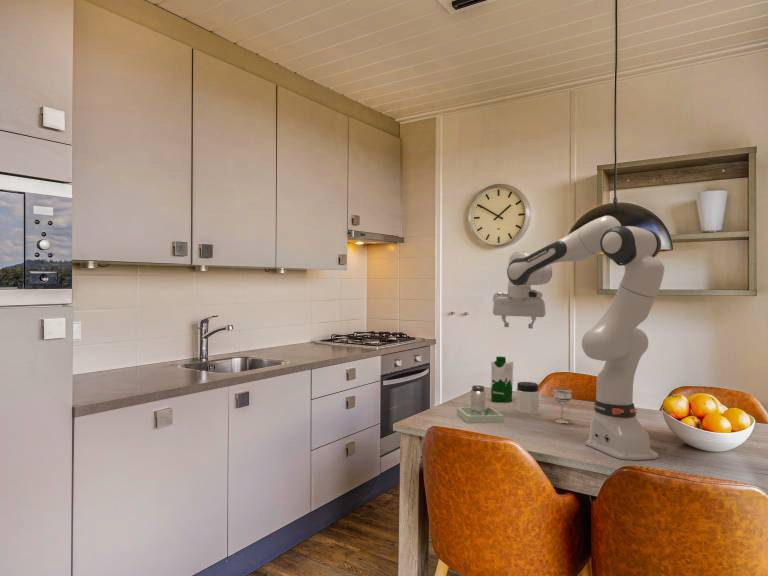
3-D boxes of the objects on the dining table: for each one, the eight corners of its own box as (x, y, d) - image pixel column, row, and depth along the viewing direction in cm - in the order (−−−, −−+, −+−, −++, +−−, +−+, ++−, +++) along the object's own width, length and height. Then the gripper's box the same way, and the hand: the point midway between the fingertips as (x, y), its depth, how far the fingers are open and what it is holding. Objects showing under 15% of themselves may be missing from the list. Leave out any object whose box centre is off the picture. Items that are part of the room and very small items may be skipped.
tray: (503, 424, 194) (503, 415, 194) (467, 425, 192) (467, 416, 192) (490, 414, 208) (491, 406, 208) (456, 415, 206) (456, 407, 206)
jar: (527, 416, 206) (528, 386, 206) (511, 412, 213) (512, 383, 213) (542, 413, 211) (543, 384, 211) (526, 409, 218) (527, 381, 218)
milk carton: (488, 401, 231) (489, 356, 231) (495, 398, 239) (496, 354, 238) (507, 404, 226) (508, 358, 226) (514, 400, 234) (515, 356, 234)
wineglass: (557, 418, 204) (557, 388, 204) (574, 422, 199) (574, 390, 199) (549, 421, 199) (550, 390, 199) (566, 425, 194) (567, 393, 194)
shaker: (486, 421, 195) (487, 387, 195) (472, 421, 195) (473, 388, 195) (482, 417, 201) (482, 385, 201) (468, 417, 200) (469, 385, 200)
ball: (489, 415, 203) (490, 408, 203) (482, 416, 203) (482, 408, 203) (487, 414, 206) (487, 406, 206) (480, 414, 206) (480, 406, 206)
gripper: (491, 292, 208) (490, 326, 209) (543, 293, 199) (543, 329, 199) (495, 292, 214) (494, 325, 214) (546, 293, 205) (545, 328, 205)
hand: (518, 327), depth 207 cm, fingers open, 8 cm apart
